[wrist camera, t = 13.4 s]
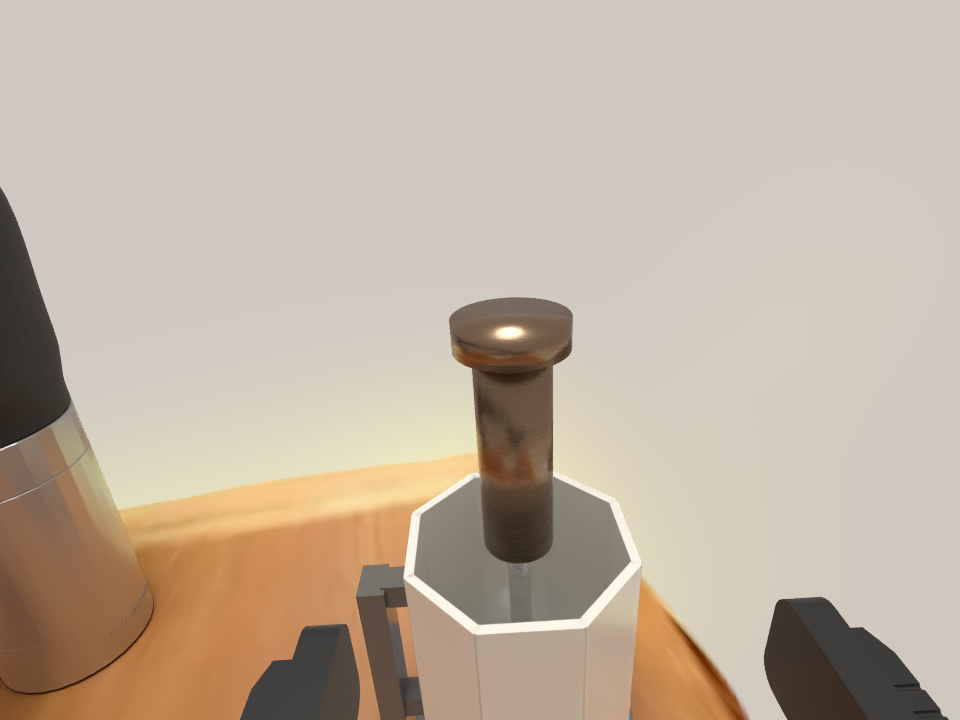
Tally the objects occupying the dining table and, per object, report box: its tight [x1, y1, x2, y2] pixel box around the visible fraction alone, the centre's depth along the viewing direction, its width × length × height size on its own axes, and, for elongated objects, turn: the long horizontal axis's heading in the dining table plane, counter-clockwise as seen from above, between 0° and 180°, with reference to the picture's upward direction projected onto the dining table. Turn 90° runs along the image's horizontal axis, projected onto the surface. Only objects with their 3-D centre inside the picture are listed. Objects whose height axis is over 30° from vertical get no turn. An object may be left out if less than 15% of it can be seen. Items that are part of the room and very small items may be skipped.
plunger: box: [449, 298, 573, 623], centre depth 24 cm, size 8×8×23 cm
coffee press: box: [356, 471, 642, 720], centre depth 27 cm, size 13×16×16 cm
